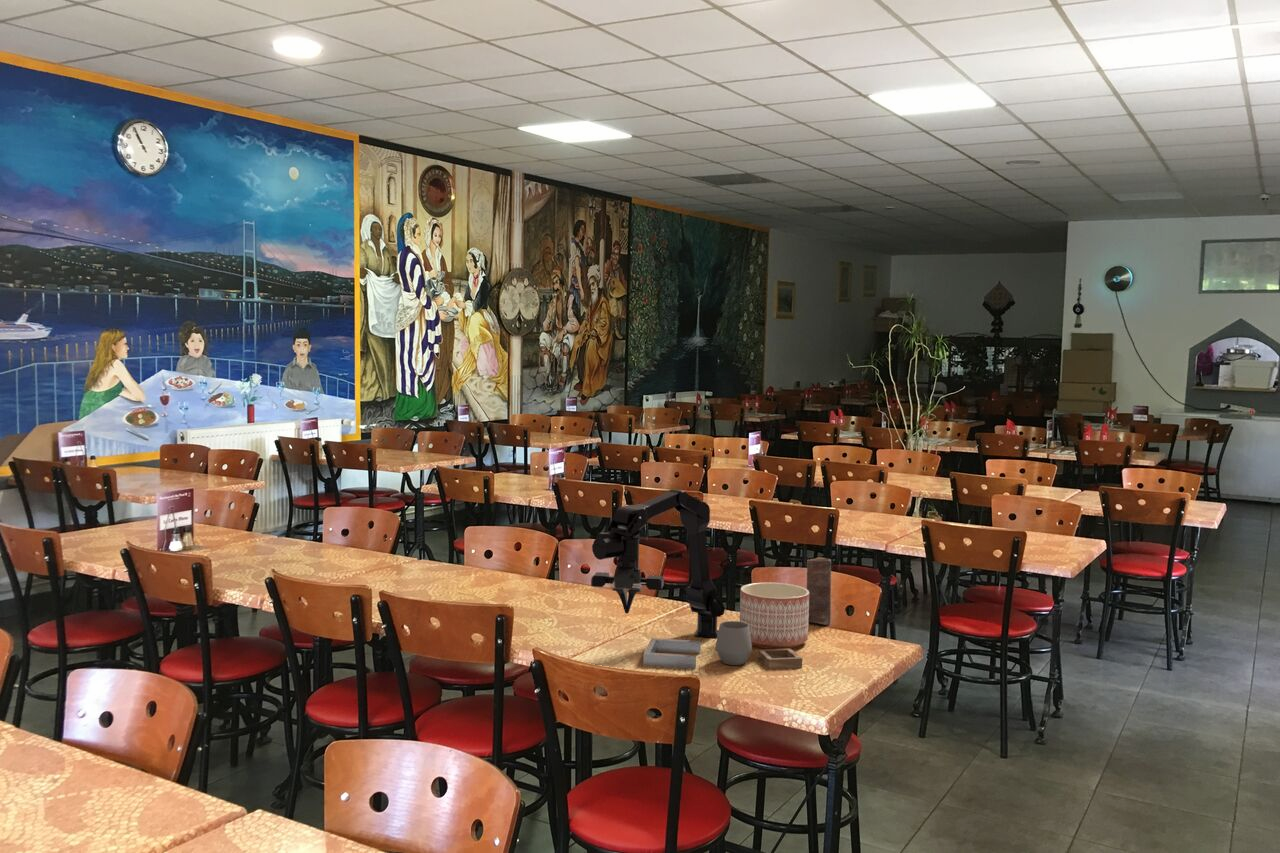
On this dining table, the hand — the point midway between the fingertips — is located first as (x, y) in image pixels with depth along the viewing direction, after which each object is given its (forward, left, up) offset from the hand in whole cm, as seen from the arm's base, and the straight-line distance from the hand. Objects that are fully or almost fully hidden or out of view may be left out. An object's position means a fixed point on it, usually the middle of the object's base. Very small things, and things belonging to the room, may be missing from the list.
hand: (627, 613), depth 264 cm
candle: (-45, +51, -12) cm, 69 cm away
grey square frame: (0, +12, -12) cm, 17 cm away
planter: (-22, +38, -12) cm, 46 cm away
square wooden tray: (-2, +40, -11) cm, 42 cm away
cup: (0, +28, -12) cm, 31 cm away
